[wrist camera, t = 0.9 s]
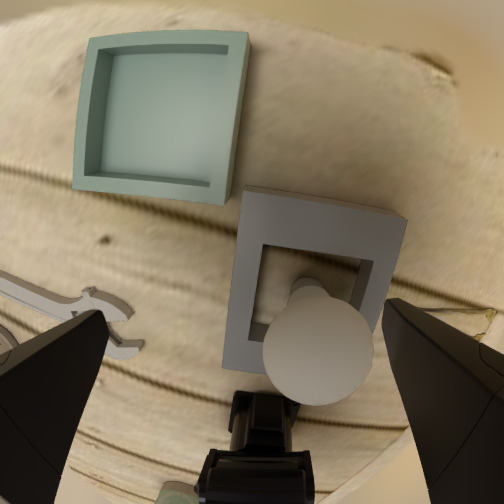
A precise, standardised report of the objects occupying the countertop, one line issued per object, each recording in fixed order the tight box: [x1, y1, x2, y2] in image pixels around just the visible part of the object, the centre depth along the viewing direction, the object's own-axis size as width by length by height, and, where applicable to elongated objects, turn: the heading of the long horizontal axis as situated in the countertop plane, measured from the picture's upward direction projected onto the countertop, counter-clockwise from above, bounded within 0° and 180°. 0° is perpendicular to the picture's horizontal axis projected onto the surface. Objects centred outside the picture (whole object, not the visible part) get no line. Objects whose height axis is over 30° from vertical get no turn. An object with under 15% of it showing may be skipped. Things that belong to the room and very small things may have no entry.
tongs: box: [419, 308, 496, 343], centre depth 24 cm, size 4×13×2 cm, turn 81°
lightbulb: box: [262, 277, 374, 406], centre depth 19 cm, size 6×6×11 cm
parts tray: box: [73, 30, 251, 206], centre depth 19 cm, size 11×11×3 cm
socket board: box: [222, 185, 408, 375], centre depth 23 cm, size 14×11×2 cm
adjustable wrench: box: [0, 270, 144, 360], centre depth 25 cm, size 25×6×2 cm, turn 73°
